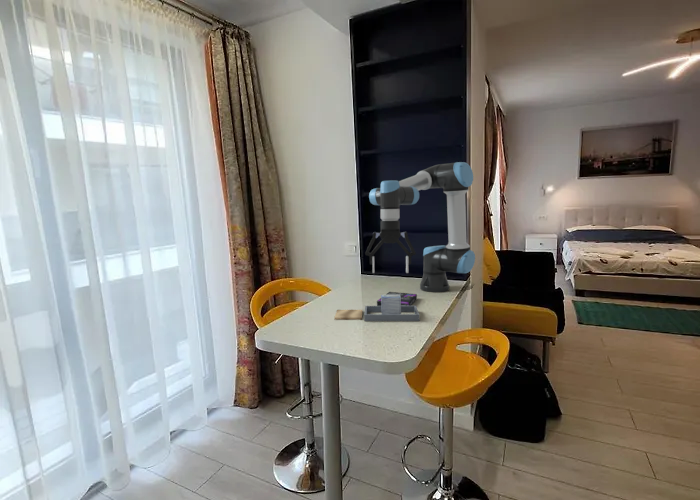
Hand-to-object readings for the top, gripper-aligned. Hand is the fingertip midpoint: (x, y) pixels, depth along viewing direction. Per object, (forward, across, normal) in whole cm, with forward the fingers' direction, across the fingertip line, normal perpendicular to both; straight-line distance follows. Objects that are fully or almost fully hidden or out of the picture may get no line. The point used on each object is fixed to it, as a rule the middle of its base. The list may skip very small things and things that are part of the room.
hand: (390, 272), depth 148 cm
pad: (+18, +17, -1) cm, 25 cm away
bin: (+18, 0, 0) cm, 18 cm away
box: (+19, -4, -20) cm, 28 cm away
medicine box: (+18, 0, 0) cm, 19 cm away
